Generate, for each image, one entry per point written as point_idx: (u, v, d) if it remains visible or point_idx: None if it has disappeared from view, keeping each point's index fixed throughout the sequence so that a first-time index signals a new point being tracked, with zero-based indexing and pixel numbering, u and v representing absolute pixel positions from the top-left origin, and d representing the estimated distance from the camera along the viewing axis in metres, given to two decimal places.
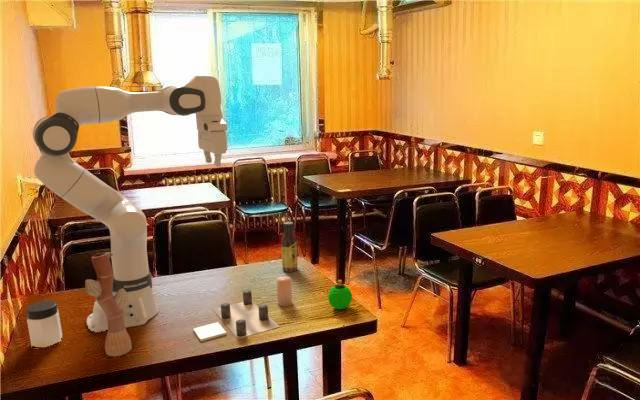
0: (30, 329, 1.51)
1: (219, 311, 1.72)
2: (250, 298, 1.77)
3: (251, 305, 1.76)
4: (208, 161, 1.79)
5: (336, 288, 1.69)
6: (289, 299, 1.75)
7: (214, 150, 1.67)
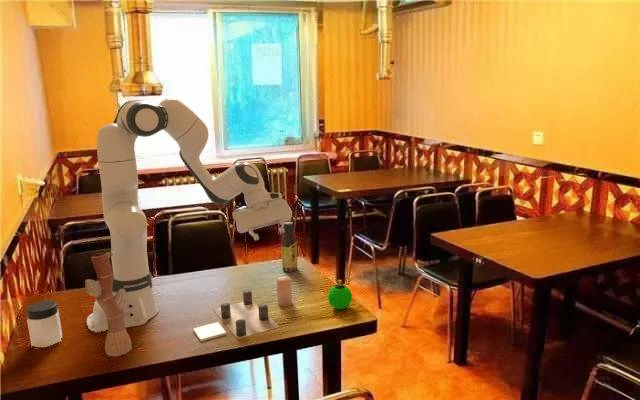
0: (30, 329, 1.51)
1: (219, 311, 1.72)
2: (250, 298, 1.77)
3: (251, 305, 1.76)
4: None
5: (336, 288, 1.69)
6: (289, 299, 1.75)
7: (287, 213, 1.84)
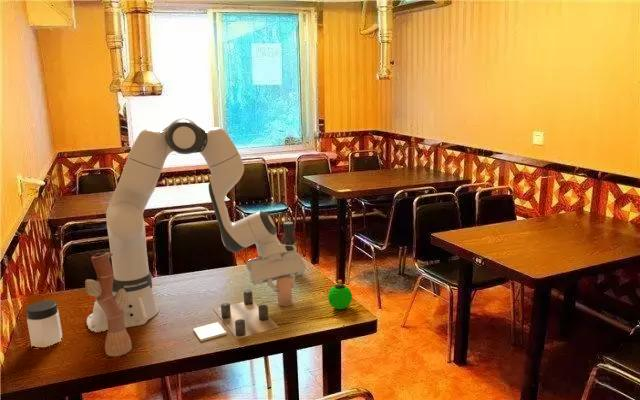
0: (30, 329, 1.51)
1: (219, 311, 1.73)
2: (251, 298, 1.77)
3: (252, 305, 1.76)
4: None
5: (336, 288, 1.69)
6: (289, 299, 1.75)
7: (302, 267, 1.81)
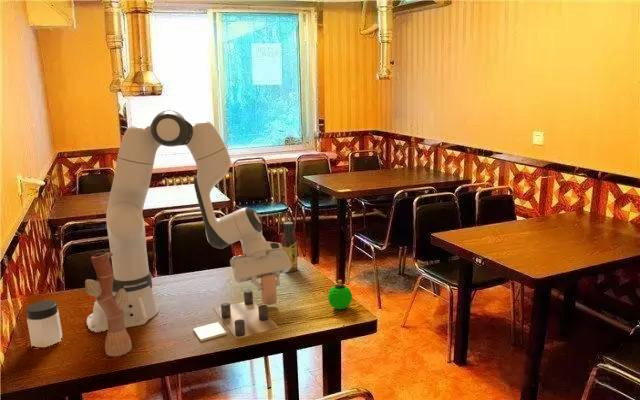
0: (30, 329, 1.51)
1: (220, 311, 1.73)
2: (251, 298, 1.77)
3: (252, 305, 1.76)
4: None
5: (336, 288, 1.69)
6: (274, 297, 1.72)
7: (287, 264, 1.78)
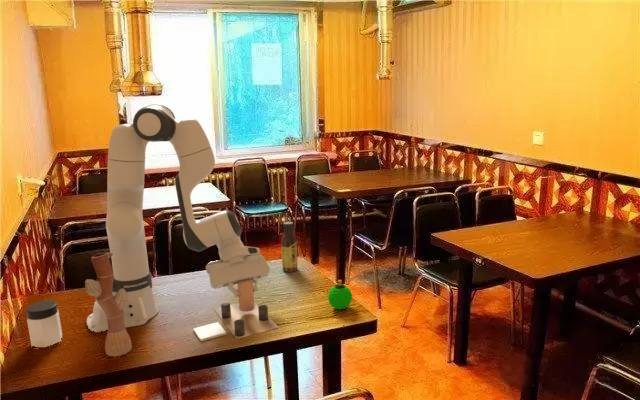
0: (30, 329, 1.51)
1: (220, 310, 1.73)
2: None
3: None
4: None
5: (336, 288, 1.69)
6: (251, 304, 1.67)
7: (265, 270, 1.73)
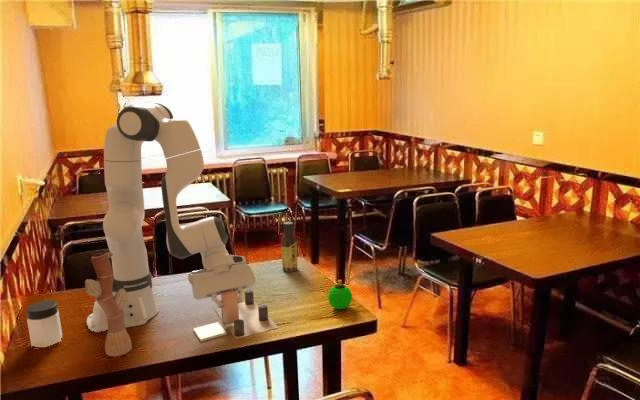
0: (30, 329, 1.51)
1: (220, 310, 1.73)
2: (252, 298, 1.77)
3: (252, 305, 1.76)
4: None
5: (336, 288, 1.69)
6: (235, 315, 1.59)
7: (251, 279, 1.65)
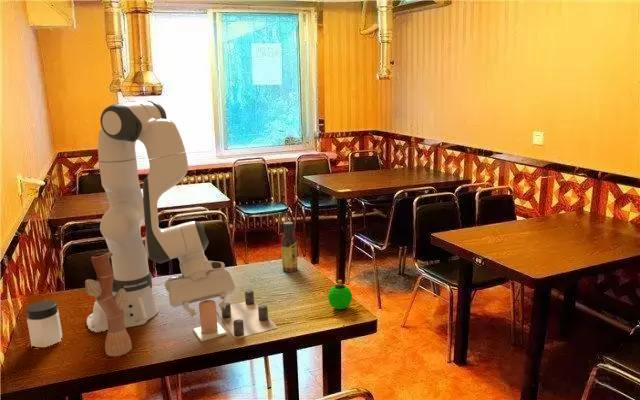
0: (30, 329, 1.51)
1: (220, 310, 1.73)
2: (252, 298, 1.77)
3: (253, 305, 1.76)
4: None
5: (336, 288, 1.69)
6: (213, 326, 1.56)
7: (230, 286, 1.61)
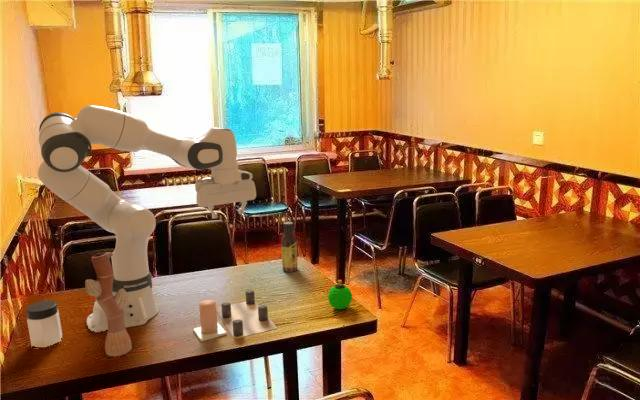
0: (30, 329, 1.51)
1: (221, 310, 1.73)
2: (253, 298, 1.77)
3: (253, 305, 1.76)
4: None
5: (336, 288, 1.69)
6: (213, 326, 1.56)
7: (252, 196, 1.75)
